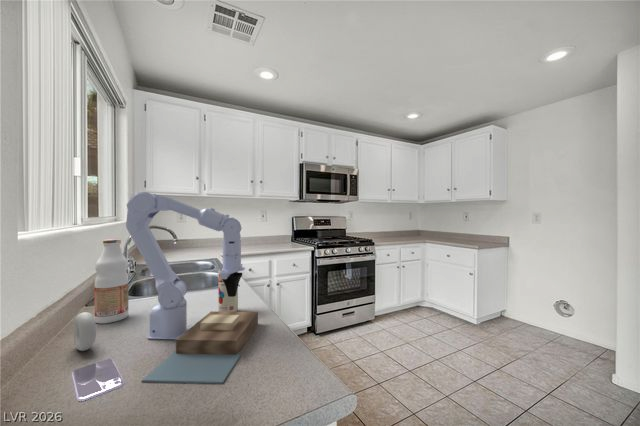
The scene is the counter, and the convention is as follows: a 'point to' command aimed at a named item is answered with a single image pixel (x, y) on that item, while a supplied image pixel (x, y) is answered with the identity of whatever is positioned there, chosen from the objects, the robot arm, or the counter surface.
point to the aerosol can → (226, 297)
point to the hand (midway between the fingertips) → (232, 296)
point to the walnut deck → (218, 336)
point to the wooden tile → (219, 322)
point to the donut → (84, 331)
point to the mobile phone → (96, 379)
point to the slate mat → (194, 368)
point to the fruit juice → (111, 284)
